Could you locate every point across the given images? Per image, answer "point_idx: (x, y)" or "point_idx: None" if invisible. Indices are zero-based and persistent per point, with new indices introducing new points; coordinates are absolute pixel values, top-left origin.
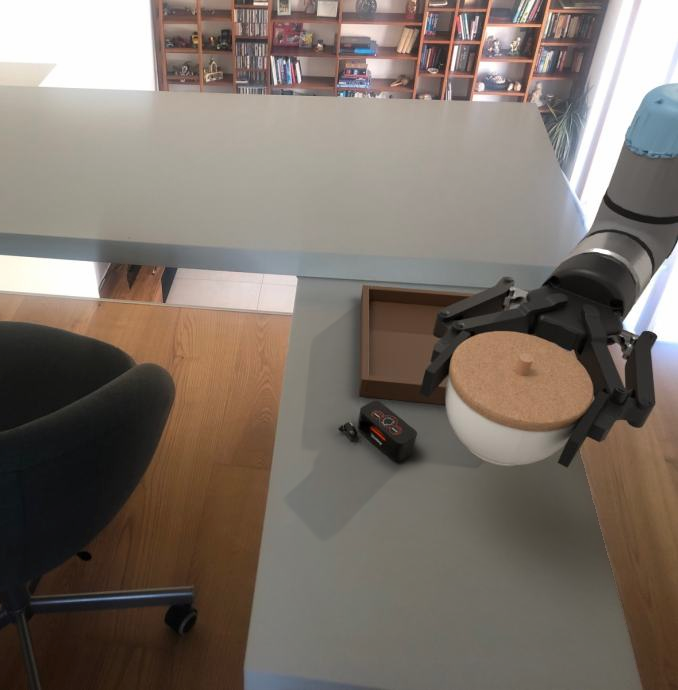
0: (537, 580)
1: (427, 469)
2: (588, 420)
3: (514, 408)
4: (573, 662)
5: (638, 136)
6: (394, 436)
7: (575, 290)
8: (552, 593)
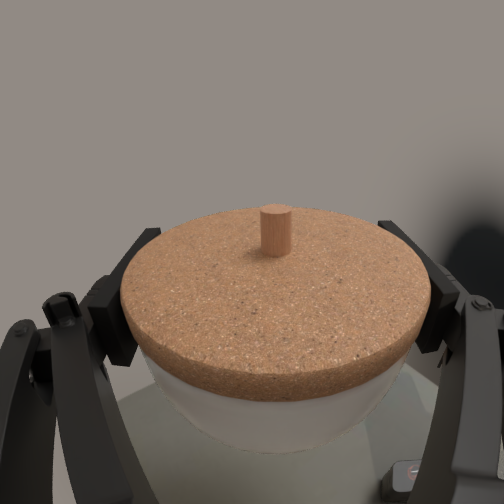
0: (181, 454)
1: (351, 500)
2: (132, 254)
3: (243, 211)
4: (139, 403)
5: None
6: (408, 464)
7: None
8: (165, 448)
